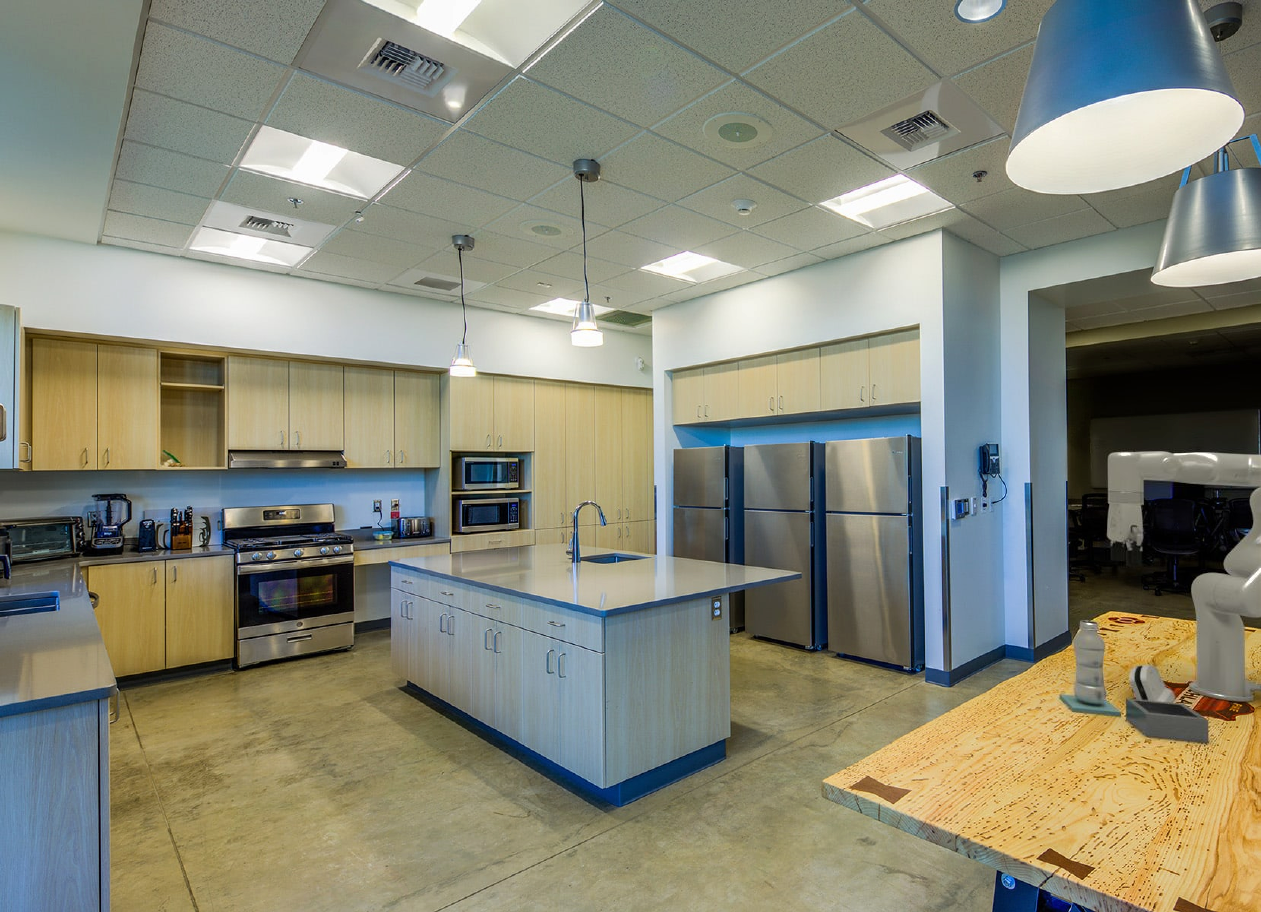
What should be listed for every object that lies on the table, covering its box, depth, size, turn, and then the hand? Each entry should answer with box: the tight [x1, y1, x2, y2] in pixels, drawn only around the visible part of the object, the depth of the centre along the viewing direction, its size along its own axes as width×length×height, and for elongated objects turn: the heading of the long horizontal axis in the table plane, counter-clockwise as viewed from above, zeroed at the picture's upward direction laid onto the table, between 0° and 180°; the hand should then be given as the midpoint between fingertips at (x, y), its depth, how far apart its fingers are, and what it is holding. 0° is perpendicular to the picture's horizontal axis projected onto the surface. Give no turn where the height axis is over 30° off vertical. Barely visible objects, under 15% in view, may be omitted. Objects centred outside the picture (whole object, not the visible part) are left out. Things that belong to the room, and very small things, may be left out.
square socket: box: [1125, 697, 1209, 744], centre depth 149 cm, size 11×10×5 cm
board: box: [1058, 693, 1122, 718], centre depth 163 cm, size 10×10×1 cm
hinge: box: [1128, 664, 1176, 703], centre depth 168 cm, size 17×5×10 cm, turn 134°
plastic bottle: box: [1072, 619, 1107, 704], centre depth 164 cm, size 6×7×20 cm
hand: (1125, 563), depth 173 cm, fingers open, 9 cm apart
